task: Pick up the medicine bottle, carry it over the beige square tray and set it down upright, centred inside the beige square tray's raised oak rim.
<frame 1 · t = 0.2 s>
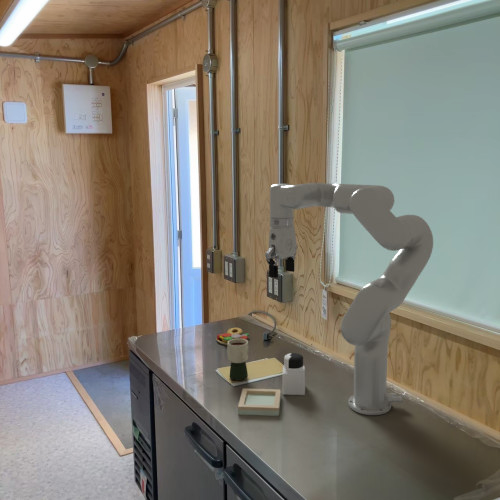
hand: (281, 274, 173), 36 cm above the worktop, tool pointing down, fingers open, 9 cm apart
toy food set: (232, 341, 216), on the worktop
beige square tray: (260, 405, 160), on the worktop
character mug: (238, 378, 180), on the worktop
medicine bottle: (293, 390, 170), on the worktop
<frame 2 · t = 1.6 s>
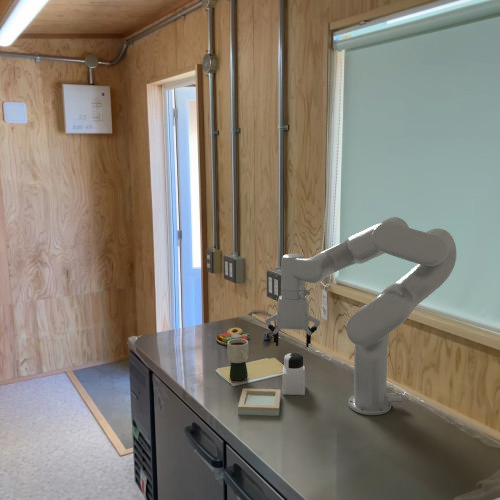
hand: (292, 345, 167), 15 cm above the worktop, tool pointing down, fingers open, 9 cm apart
nothing on the worktop moved.
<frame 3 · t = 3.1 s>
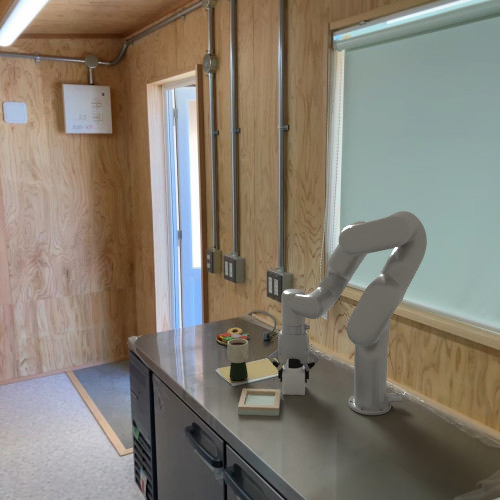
hand: (293, 380, 170), 3 cm above the worktop, tool pointing down, fingers closed on medicine bottle, 7 cm apart
medicine bottle: (293, 390, 170), on the worktop, touching gripper
everything else where it was.
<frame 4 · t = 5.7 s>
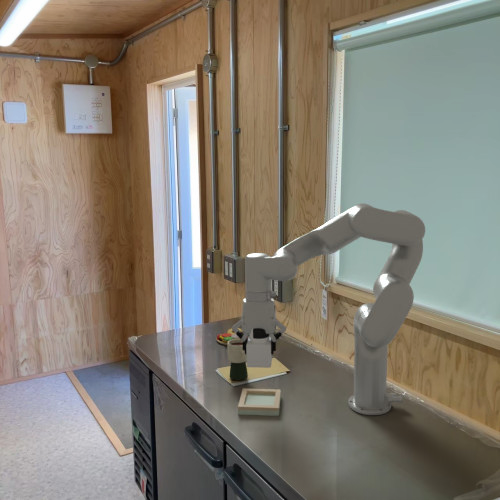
hand: (259, 352, 157), 17 cm above the worktop, tool pointing down, fingers closed on medicine bottle, 7 cm apart
medicine bottle: (259, 363, 158), point 14 cm above the worktop, touching gripper
everything else where it was.
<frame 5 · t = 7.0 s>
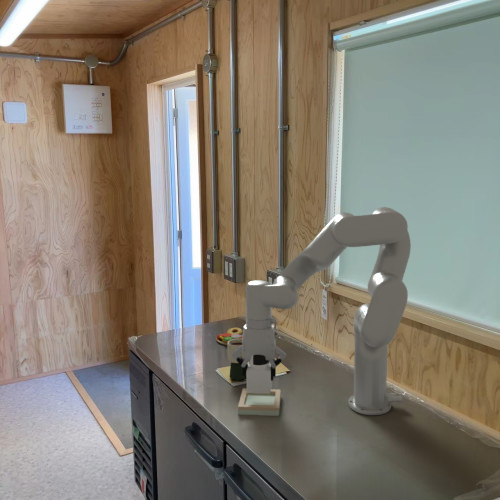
hand: (259, 378, 159), 9 cm above the worktop, tool pointing down, fingers closed on medicine bottle, 7 cm apart
medicine bottle: (259, 389, 159), point 5 cm above the worktop, touching gripper
everything else where it was.
when the fingers open (6 cm above the worktop, at t = 8.2 s): medicine bottle stays where it is, resting on beige square tray.
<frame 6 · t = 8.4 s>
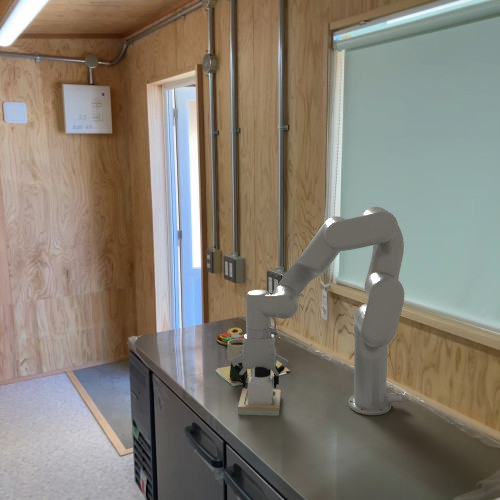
hand: (259, 385, 159), 6 cm above the worktop, tool pointing down, fingers open, 9 cm apart
medicine bottle: (260, 401, 160), point 1 cm above the worktop, touching beige square tray
everything else where it was.
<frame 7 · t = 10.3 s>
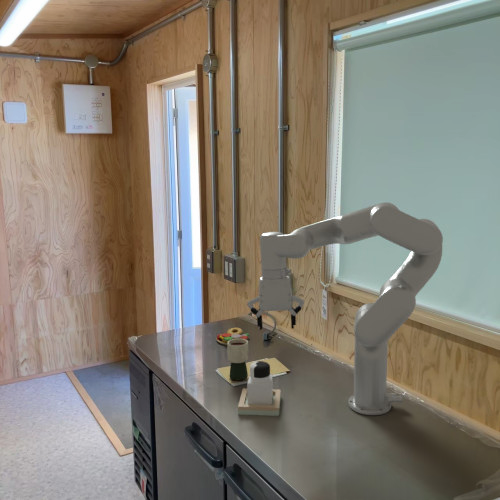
hand: (276, 327, 161), 23 cm above the worktop, tool pointing down, fingers open, 9 cm apart
nothing on the worktop moved.
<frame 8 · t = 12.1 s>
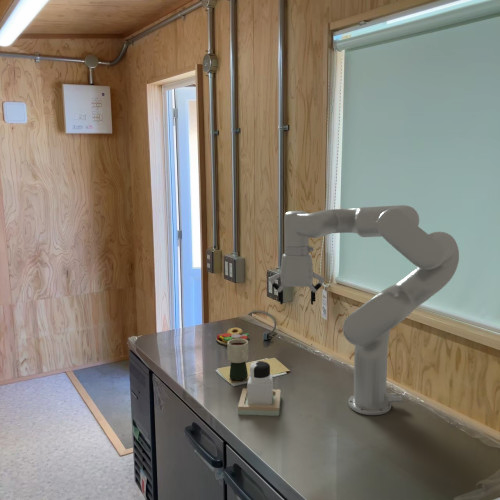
hand: (296, 303, 168), 28 cm above the worktop, tool pointing down, fingers open, 9 cm apart
nothing on the worktop moved.
at the end: medicine bottle 0.1 cm off-centre on the beige square tray, point 1.3 cm above the beige square tray's base; medicine bottle tilted 0°; the gripper is holding nothing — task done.
